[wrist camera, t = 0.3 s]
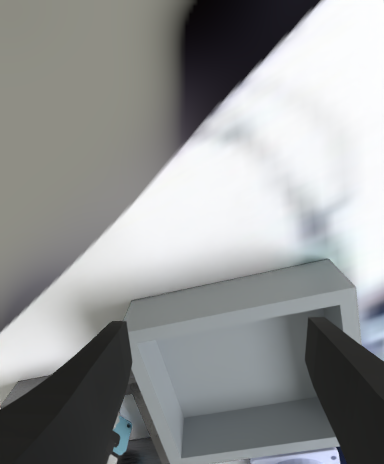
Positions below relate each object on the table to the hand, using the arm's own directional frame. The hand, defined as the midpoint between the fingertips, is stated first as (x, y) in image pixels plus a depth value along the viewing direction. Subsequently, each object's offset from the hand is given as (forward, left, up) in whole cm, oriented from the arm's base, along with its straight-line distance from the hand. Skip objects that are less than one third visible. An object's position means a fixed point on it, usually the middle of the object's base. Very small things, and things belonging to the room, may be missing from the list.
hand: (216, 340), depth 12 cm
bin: (-9, 0, -10) cm, 14 cm away
